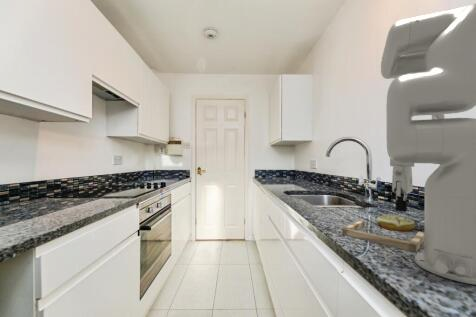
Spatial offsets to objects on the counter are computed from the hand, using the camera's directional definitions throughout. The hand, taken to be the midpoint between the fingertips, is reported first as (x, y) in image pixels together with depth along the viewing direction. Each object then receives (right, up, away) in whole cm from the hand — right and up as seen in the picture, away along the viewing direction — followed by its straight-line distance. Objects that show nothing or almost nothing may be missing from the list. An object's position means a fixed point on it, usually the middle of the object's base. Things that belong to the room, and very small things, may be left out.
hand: (401, 210), depth 86 cm
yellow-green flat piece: (-8, -5, -7) cm, 12 cm away
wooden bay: (-18, -4, -17) cm, 25 cm away
